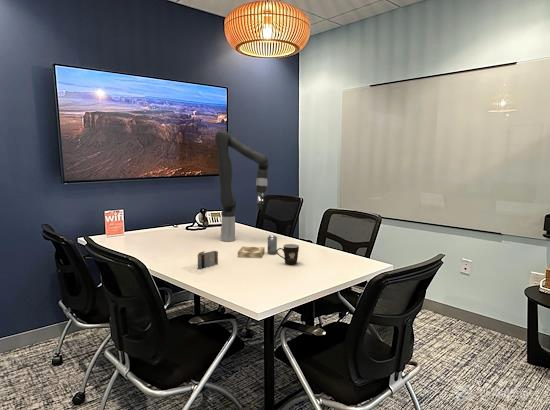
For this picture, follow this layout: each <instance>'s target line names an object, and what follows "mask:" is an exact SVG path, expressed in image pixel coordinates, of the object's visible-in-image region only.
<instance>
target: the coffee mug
mask: <svg viewBox="0 0 550 410" xmlns="http://www.w3.org/2000/svg"><path fill="white" fill-rule="evenodd" d="M282 246H283V248H282V247H279V248H277V254H276V255H278V257H280V258H283V260H284V264H285V265H287V266H296V265H297V264H298V258H299V249H300V245H299V244H295V243H286V244H283V245H282ZM280 250H282V252H283V255H284V256H283V255H280V253H278V251H280Z"/></svg>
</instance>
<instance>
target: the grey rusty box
mask: <svg viewBox="0 0 550 410" xmlns="http://www.w3.org/2000/svg"><path fill="white" fill-rule="evenodd" d="M218 265H219V252H218V251H217V250H211V251H208V252H205V250H204V251H200V252H198V253H197V269H199V270H202V268H203V269H206V268H210V267H214V266H218Z"/></svg>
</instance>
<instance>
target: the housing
mask: <svg viewBox="0 0 550 410" xmlns="http://www.w3.org/2000/svg"><path fill="white" fill-rule="evenodd" d="M277 245H278V237H277V236H276V235H275V234H274V235H273V234H270V235H268V236H267V255H272V256H273V255H278V254H277V252H278V251H277V249H278V246H277Z"/></svg>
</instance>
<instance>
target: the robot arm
mask: <svg viewBox="0 0 550 410" xmlns="http://www.w3.org/2000/svg"><path fill="white" fill-rule="evenodd" d="M214 139H215V146H216V152H217V164H218V165H217V170H218V177H219V179H218V180H219V185H220V198H219V199H220V201H219V202H220V203H221V205H222V211H221V227H220V241H221V242H226V243H227V242H235V240H236V210H237V208H236V206H237V204H236V203H237V200H236V196H235V194H234V193H233V192H232V183H233V182H232V181H233V165H232V161H231V160H232V159H231V157H230V155H229V148H231V149H234V150H235V151H236V152H238V153H239V154H241V155H242V156H244V157H245V158H247V159H248V160H251V161H253V162H255V163H257V164H258V169H257V171H256V172H257V173H256V180H255V181H256V182H255V192H256V193H258V194H257V210H263V209H264V203H265V194H266V193H268V173H269V172H268V169H269V162H270V160H269V157H268V156H267V155H265V154H263V153H261V152H258V151H257V150H255V149H254V148H252V147H250V146H248V145H247V144H244V143H242V142H240V141H239V140H238V139H236V138H235V137H234V136H232V135H231V134H229V132H227V131H223V130H219V131H217V132H216V134H215V136H214Z"/></svg>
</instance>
